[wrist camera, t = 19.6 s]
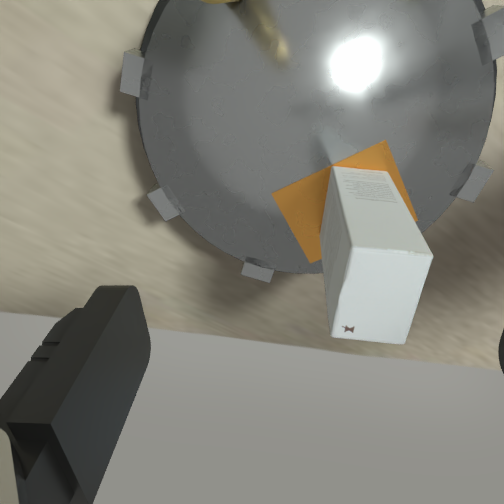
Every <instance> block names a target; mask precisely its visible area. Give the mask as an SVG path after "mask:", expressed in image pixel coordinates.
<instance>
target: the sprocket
mask: <svg viewBox="0 0 504 504" xmlns="http://www.w3.org/2000/svg"><path fill="white" fill-rule="evenodd" d="M501 56H504V6H499V5H493V6H491V7H489V8H487V9H485V10H483V11H481V12H479V11H478V9H477V7H476V5H475V3H474V1H473V0H170V1H169V2H168V4H167V5H166V7H165V8H164V10H163V13H162V15H161V17H160V19H159V21H158V23H157V25H156V27H155V29H154V31H153V34H152V37H151V39H150V42H149V45H148V48H147V51H146V52H143V51H140V50H137V49H131V50H128V51H125V52H124V58H123V67H122V76H121V85H120V92H123V93H126V94H129V95H133V96H136V97H139V110H140V125H141V131H142V136H143V142H144V147H145V150H146V153H147V156H148V159H149V163H150V166H151V168H152V170H153V172H154V175H155V177H156V179H157V181H158V183H157V184H155V185H154V186H153V187H152V189H151V190H150V191H149V193H148V194H147V196H148V198H149V199H150V200H151V202H152V203H153V205H154V206H155V207H156V209H157V210H158V212H159V213H160V214H161V216H162V217H163V219H164V220H165V221H167V220H169V219H171V218H174V217H176V216H178V215H180V216H181V217H182V218H183V219H184V220H185V221H186V222H187V223H188V224H189V225H190V226H191V227H192V228H193V229H194V230H195V231H196V232H197V233H198V234H199V235H201V236H202V237H203V238H204V239H206V240H207V241H208V242H209V243H211V244H212V245H214V246H216V247H217V248H219V249H220V250H222V251H224V252H225V253H227V254H229V255H231V256H233V257H235V258H237V259H240V260H242V261H244V262H243V266H242V271H241V275H244V276H247V277H251V278H254V279H258V280H261V281H265V282H268V283H270V281H271V278H272V275H273V273H274V270H275V271H281V272H289V273H313V274H315V273H324V272H323V264H322V255H321V246H320V231H321V225H322V219H323V213H324V207H325V201H326V196H327V190H328V184H329V178H330V172H331V167H332V166H338V167H348V168H357V169H368V170H379V171H386V172H388V173H389V175H390V177H391V179H392V181H393V182H394V184H395V186H396V188H397V190H398V192H399V193H400V195H401V197H402V199H403V201H404V203H405V204H406V206H407V208H408V210H409V212H410V214H411V216H412V217H413V219H414V221H415V223H416V225H417V227H418V228H419V230H420V232H421V233H422V232H423V231H425V230H426V229H427V228H428V227H429V226H430V225H431V224H432V223H433V222H434V221H436V220H437V219H438V218H439V217H440V216H441V215H442V213H443V212H444V211H445V210H446V209H447V208H448V207H449V205H450V204H451V203H452V202H453V201H454V200H455V198H456V197H458V198H461V199H464V200H467V201H470V202H474V201H475V200H476V198H477V196H478V195H479V193H480V192H481V190H482V188H483V187H484V185H485V184H486V182H487V181H488V179H489V177H490V176H491V174H492V173H493V171H494V170H493V169H492V168H491V167H490V166H488V165H487V164H486V163H485V162H484V161H482V160H479V156H480V153H481V151H482V148H483V145H484V143H485V140H486V137H487V132H488V128H489V124H490V120H491V116H492V107H493V97H494V70H493V60H495V59H497V58H499V57H501Z"/></svg>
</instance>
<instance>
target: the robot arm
mask: <svg viewBox="0 0 504 504" xmlns="http://www.w3.org/2000/svg"><path fill="white" fill-rule="evenodd" d="M150 350H151V344H150V336H149V332H148V328H147V324H146V320H145V316H144V312H143V308H142V304H141V300H140V296H139V292H138V290H137V288H136V287H135V286H99V287H98V288H97V289H96V290H95V291H94V293H93V294H92V296H91V297H90V299H89V300H88V302H87V303H86V305H85V306H84V308H75V309H74V310H73V311H71V312H70V313H69V314H67V315H66V316H65V317H64V318H62V319H61V320H60V321H58V322H57V323H56V324H55V325H54V326H53V328H52V329H51V331H50V332H49V333H48V335H47V336H46V337H45V339H44V340H43V342H42V346H39V347H38V348H37V350H36V351H35V352H34V354H33V355H32V357H31V361H28V362H27V364H26V365H25V366H24V368H23V369H22V370H21V372H20V373H19V374H18V376H17V377H16V379H15V380H14V381H13V383H12V384H11V385H10V387H9V388H8V390H7V391H6V392H5V394H4V395H3V396H2V398H1V399H0V504H93V501H94V499H95V496H96V494H97V491H98V489H99V486H100V484H101V481H102V479H103V476H104V474H105V471H106V469H107V466H108V464H109V461H110V459H111V456H112V454H113V451H114V449H115V446H116V444H117V441H118V439H119V436H120V434H121V431H122V429H123V426H124V423H125V421H126V418H127V416H128V413H129V411H130V408H131V406H132V403H133V401H134V398H135V396H136V393H137V390H138V388H139V386H140V383H141V381H142V378H143V375H144V373H145V371H146V368H147V365H148V363H149V358H150ZM499 361H500V366H501V369H502V371H503V373H504V330H503V333H502V336H501V339H500V343H499Z"/></svg>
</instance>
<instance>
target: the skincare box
mask: <svg viewBox="0 0 504 504" xmlns="http://www.w3.org/2000/svg"><path fill="white" fill-rule="evenodd" d="M320 246H321V255H322V264H323V272H324V282H325V292H326V301H327V312H328V321H329V328H330V335H331V337H333V338H344V339H354V340H363V341H371V342H381V343H390V344H404V343H405V341H406V338H407V335H408V332H409V329H410V326H411V323H412V320H413V317H414V314H415V311H416V308H417V305H418V301H419V298H420V295H421V292H422V289H423V286H424V282H425V280H426V277H427V273H428V270H429V267H430V264H431V261H432V259H433V254H432V252H431V251H430V249H429V247H428V245H427V243H426V241H425V239H424V238H423V236H422V234H421V232H420V230H419V228H418V227H417V225H416V223H415V221H414V219H413V217H412V216H411V214H410V212H409V210H408V208H407V206H406V204H405V203H404V201H403V199H402V197H401V195H400V193H399V192H398V190H397V188H396V186H395V184H394V182H393V181H392V179H391V177H390V175H389V173H388V172H386V171H379V170H368V169H357V168H348V167H338V166H332V167H331V172H330V178H329V184H328V190H327V196H326V201H325V207H324V213H323V219H322V225H321V231H320Z"/></svg>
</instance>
